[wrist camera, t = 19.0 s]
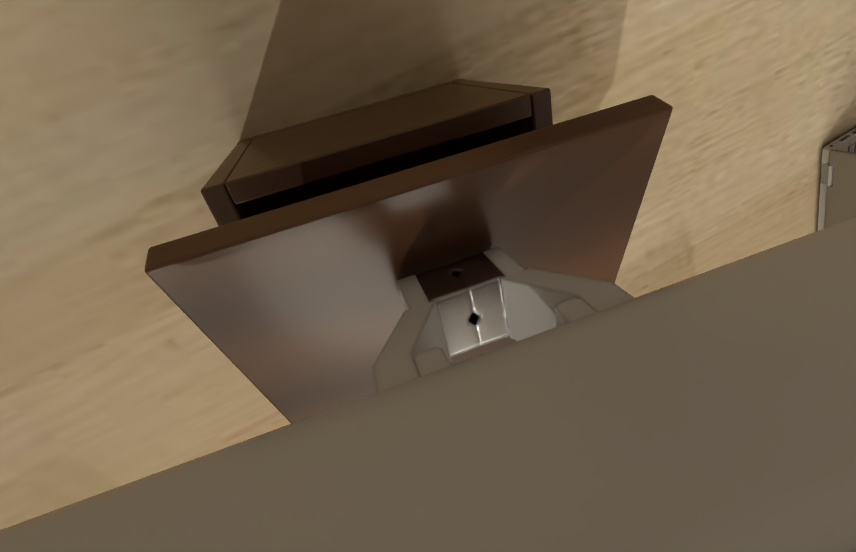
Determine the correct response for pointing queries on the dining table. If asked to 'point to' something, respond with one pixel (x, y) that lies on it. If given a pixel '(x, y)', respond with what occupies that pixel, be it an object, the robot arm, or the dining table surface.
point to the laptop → (838, 181)
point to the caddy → (370, 144)
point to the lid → (406, 249)
